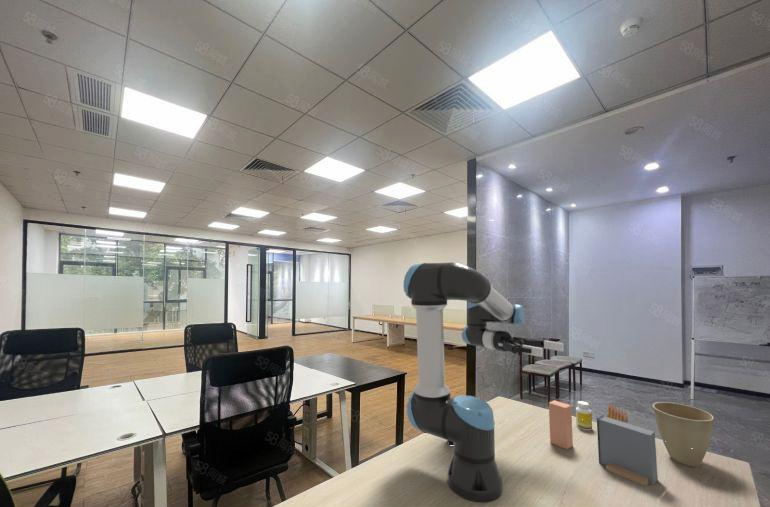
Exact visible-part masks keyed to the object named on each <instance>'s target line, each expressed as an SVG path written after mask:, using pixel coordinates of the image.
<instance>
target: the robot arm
mask: <svg viewBox="0 0 770 507" xmlns="http://www.w3.org/2000/svg"><path fill="white" fill-rule="evenodd" d="M403 293H405V296H406V297H407V298H409V299H410V304H411V306H412V307H413V308H414V309H415V310H416V311H415V313H416V314H415V316H416V342H417V343H416V347H417V348H416V350H417V379H418V380H417V381H418V383H417V384H416V385H415V387H414V388H413V391H412V392H411V394H410V395H409V396H408V402H407V404H406V416H407V419H408V422H409V423H410V425H411V426H412V427H413V428H414V429H416V430H419V431H420V432H422V433H424V434H428V435H432V436H435V437H437V438H440V439H443V440H447V441H448V440H449V441H452V442H453V444H454V447H453V454H452V459H451V461H450V464H449V467H448V471H447V482H448V486H449V488H450V489H451V490H452V491H453V492H454V493H455V494H457V495H458V496H460V497H462V498H463V499H466V500H469V501H473V502H478V503H479V502H480V503H481V502H482V503H483V502H490V501H493V500H496V499H498V498H499V497H500V496H501V495H502V492H503V479H502V477H501V475H500V471H499V467H498V464H497V461H496V457H495V456H496V453H495V450H496V447H495V445H496V444H495V443H496V441H495V425H496V424H495V419H494V411H493V408H492V407H491V406H490V404H489V403H487V401H485V400H484V399H481V398H478V397H476V396H472V395H465V394H460V395H456V396H454V398H451V388H450V387H449V386H447V385H446V372H445V370H446V366H445V338H444V311H443V310H444V309H445V308H446V307H447V305H448V301H451V300H453V301H466V302H467V306H466V311H467V325H466V326H464V327H463V329H462V332H461V339H462V341H463V342H464V343H465V344H467V345H471V346H475V347H481V348H484V349H485V348H486V349H490V351H493V350H494V351H495V350H496V351H499V352H509V353H513V354H515V355H516V354H517V355H518V356H523V354H524V355H530V356H534V357H540V358H543V356H544V354H543V352H544V350H543V349H545V350H546V349H547V350H552V351H558V352H564V351H565V350H564V347H565V346H564V343H563V342H557V341H551V340H547V339H546V338H545V337H543V338H542V339H541V338H534V337H533V338H531V337H521V336H512V335H511V333H510V332H508V331H506V330H499V329H494V328H487V325H488V324H487V323H496V324H498V323H499V324H504V325H505V324H506V325H512V326H513V325H523V324H524V322H525V319H526V313H525V312H526V310H525V307H524V306H523V305H521V304H516V303H515V304H512V303H511V302H510V301H509V300H507V298H505V297H504V296H503V295H502V294H500V293H499V292H498V290H496V289H495V288H493V287H492V285H491V281H490V280H489V279H488V278H487V277H486V276H485V275H483V273H481V272H479V271H478V270H476V269H474V268H472V267H471V266H468V265H466V264H463V263H459V262H433V263H432V262H431V263H429V262H428V263H427V262H423V263H417V264H416V263H415V264H413V265H411V266H410V267H409V268H408V270H407V271H406V273H405V275H404V278H403Z"/></svg>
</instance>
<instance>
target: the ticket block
mask: <svg viewBox="0 0 770 507" xmlns="http://www.w3.org/2000/svg"><path fill="white" fill-rule="evenodd" d="M596 428H597V430H596V432H597V450H598V451H597V452H598V463H599V464H601V465H603V466H605V470H606V471H608V472H611V473H613V474H615V475H618V476H620V477H622V478H626V479H627V480H630V481H631V482H634V483H637V484H639V485H642V486H644V487H647V486H648V485H649V484H650V485H652V486H654V485H655V484H656V483H657V481H658V480H659V479H658V466H657V465H658V463H657V462H658V461H657V447H656V434H655V433H656V431H653V430H649V429H647V428H643V427H640V426H637V425H635V424H631V423H629V422H628V423H625V422H621V421H618V420H615V419H611V418H608V417H607V416H605V415H603V414H601V415H600V416H598V417H597V418H596Z"/></svg>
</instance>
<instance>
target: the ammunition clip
mask: <svg viewBox="0 0 770 507" xmlns="http://www.w3.org/2000/svg"><path fill="white" fill-rule="evenodd" d="M606 415H607V416H606V417H608V418H611V419H615V420H618V421H621V422H625V423H628V424H629V421H628V420H629V419H628V414H627V413H626V411H625V412H624V411H623V410H620V408H617V406H614V405H613V404H611V403H610V402H608V403H607V413H606Z"/></svg>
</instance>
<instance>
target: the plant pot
mask: <svg viewBox="0 0 770 507" xmlns="http://www.w3.org/2000/svg"><path fill="white" fill-rule="evenodd" d="M652 408H653V409H652V410H653V413H654V418H655V421H656V425H657V428H658V431H659V435H660V437H661V439H662V442H663V444H664V447H665V449H666V451H667V453H668V455H669V457H670V459H672V460H673V461H674V462H678V463H679V464H682V465H685V466H688V467H695V468H697V467H700V466H701V465H702V463H703V461H704V458H705V456H706V455H707V454H706V453H707V451H708V448H709V444H710V442H711V438H712V434H713V433H712V432H713V427H714V416H713V415H712V414H711V413H710V412H707V411H705V410H704V409H700V408H698V407H694V406H692V405H687V404H683V403H682V404H681V403H677V402H668V401H667V402H666V401H662V402H661V401H659V402H654V403H653V404H652ZM665 441H666V442H665ZM691 448H693V449H691Z"/></svg>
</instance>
